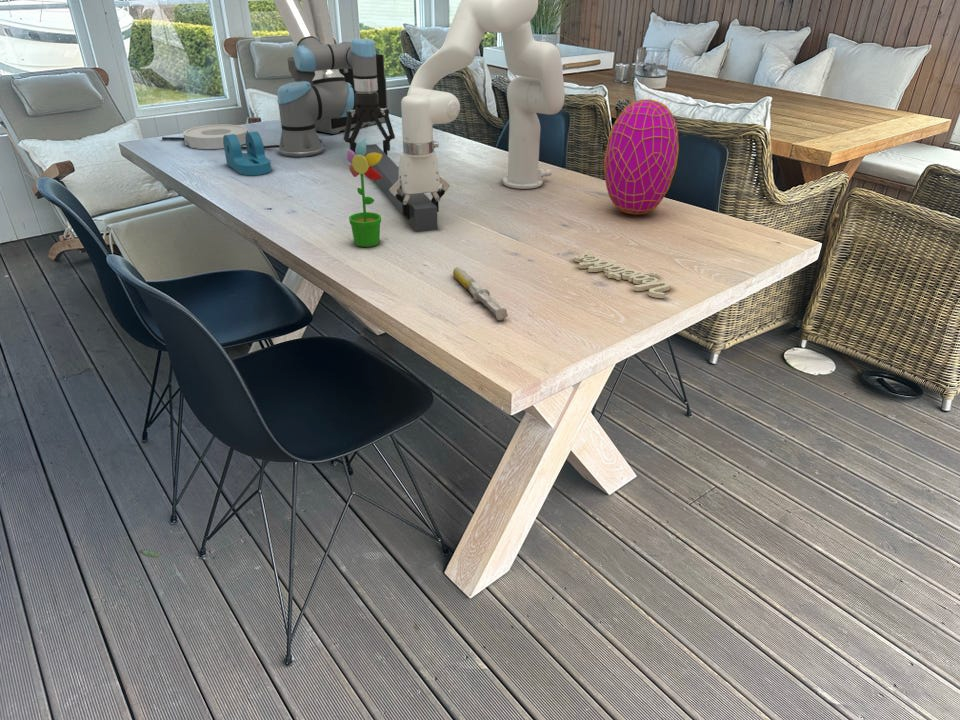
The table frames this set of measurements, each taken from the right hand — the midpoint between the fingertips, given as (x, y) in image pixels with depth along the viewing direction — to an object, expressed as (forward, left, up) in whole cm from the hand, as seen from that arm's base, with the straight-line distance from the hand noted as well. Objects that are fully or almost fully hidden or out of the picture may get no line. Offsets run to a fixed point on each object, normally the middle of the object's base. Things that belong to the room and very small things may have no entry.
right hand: (420, 215), depth 182 cm
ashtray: (+36, -118, -3) cm, 124 cm away
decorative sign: (-30, +50, -3) cm, 58 cm away
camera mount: (+31, -75, -3) cm, 81 cm away
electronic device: (-16, -129, -3) cm, 130 cm away
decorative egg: (-59, +15, -3) cm, 60 cm away
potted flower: (+17, +7, -3) cm, 19 cm away
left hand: (-6, -62, -1) cm, 63 cm away
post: (-3, -31, -3) cm, 32 cm away
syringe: (+5, +47, -3) cm, 47 cm away
